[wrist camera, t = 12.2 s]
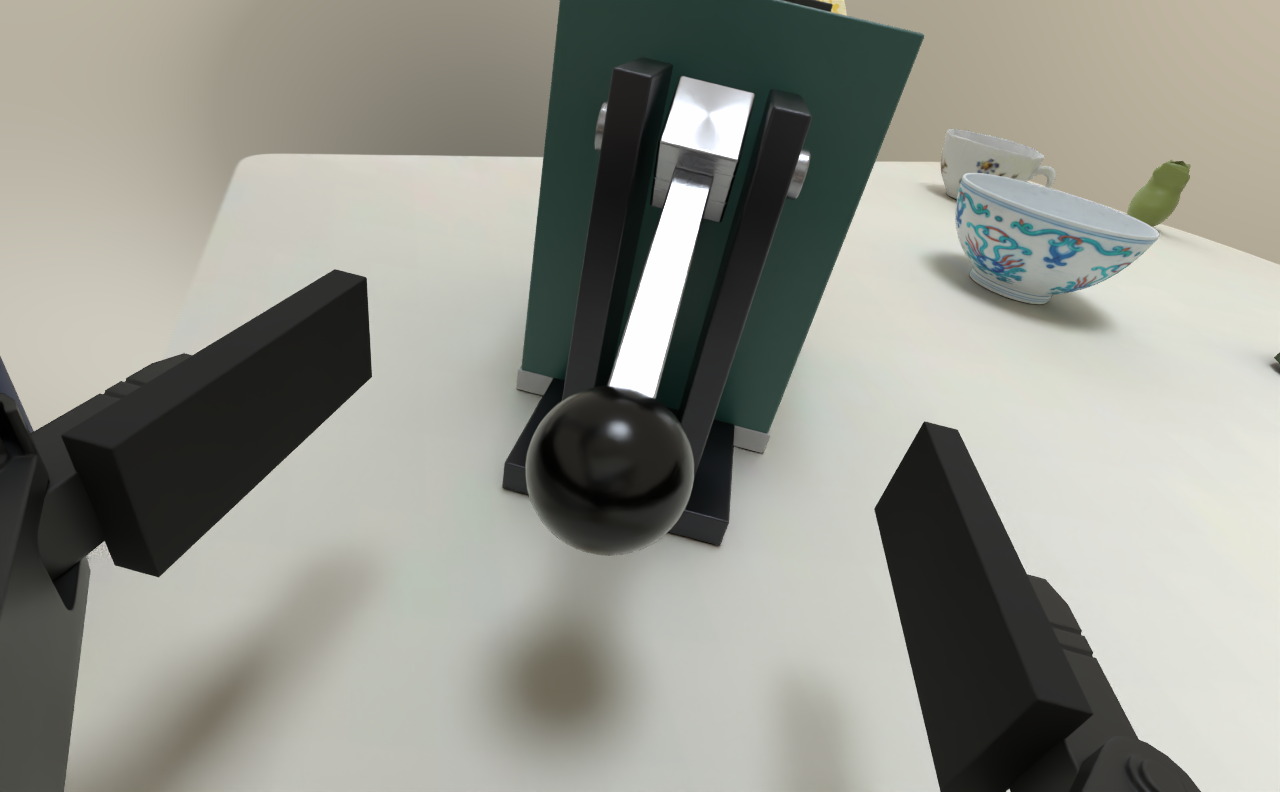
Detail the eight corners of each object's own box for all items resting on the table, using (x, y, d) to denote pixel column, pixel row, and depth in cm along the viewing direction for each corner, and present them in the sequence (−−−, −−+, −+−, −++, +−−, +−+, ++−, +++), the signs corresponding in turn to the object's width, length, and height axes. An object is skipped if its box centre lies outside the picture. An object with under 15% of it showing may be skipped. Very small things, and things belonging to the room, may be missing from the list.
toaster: (763, 453, 27) (933, 25, 18) (515, 389, 27) (561, -63, 18) (762, 325, 38) (866, 21, 29) (586, 280, 38) (636, -33, 29)
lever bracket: (720, 546, 21) (880, 135, 14) (501, 488, 22) (543, 53, 14) (727, 445, 27) (848, 103, 19) (550, 399, 27) (599, 43, 19)
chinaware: (989, 318, 47) (1046, 220, 42) (893, 245, 59) (929, 162, 55) (1141, 336, 50) (1206, 247, 46) (1021, 263, 62) (1064, 188, 58)
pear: (1161, 230, 97) (1205, 166, 91) (1156, 233, 93) (1201, 167, 88) (1122, 217, 100) (1163, 154, 94) (1116, 220, 96) (1158, 155, 91)
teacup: (909, 188, 85) (935, 127, 80) (937, 182, 93) (963, 126, 89) (1020, 227, 78) (1056, 162, 73) (1040, 217, 86) (1073, 158, 82)
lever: (662, 588, 14) (686, 555, 11) (510, 546, 14) (489, 502, 11) (754, 179, 20) (787, 78, 17) (646, 152, 20) (658, 47, 17)
